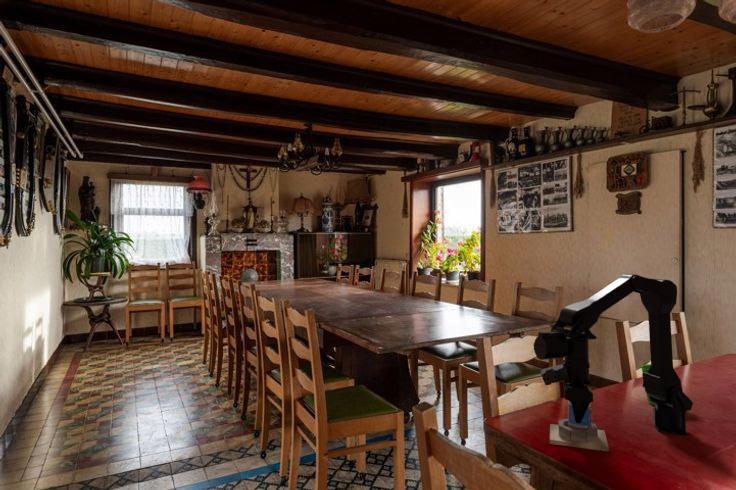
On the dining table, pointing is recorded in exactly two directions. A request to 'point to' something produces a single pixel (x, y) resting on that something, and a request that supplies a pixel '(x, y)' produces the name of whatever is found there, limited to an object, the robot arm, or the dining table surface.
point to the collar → (578, 436)
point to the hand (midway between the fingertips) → (577, 418)
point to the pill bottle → (585, 421)
